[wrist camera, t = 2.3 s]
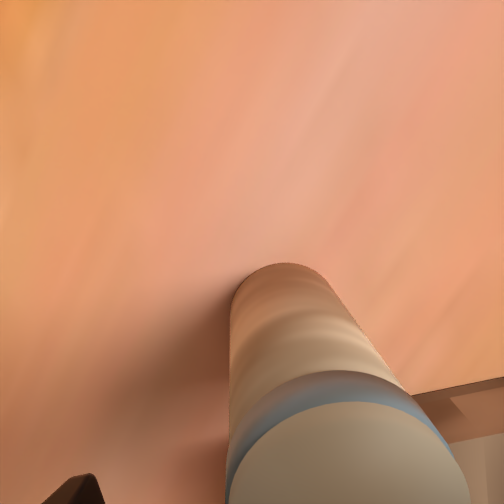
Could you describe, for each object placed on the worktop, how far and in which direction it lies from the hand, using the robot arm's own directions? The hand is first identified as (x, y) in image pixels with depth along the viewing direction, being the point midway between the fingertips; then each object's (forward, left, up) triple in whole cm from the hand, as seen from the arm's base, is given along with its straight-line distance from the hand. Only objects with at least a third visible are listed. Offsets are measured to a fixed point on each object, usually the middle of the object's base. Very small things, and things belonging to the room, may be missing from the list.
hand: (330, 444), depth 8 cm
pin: (0, 0, -6) cm, 6 cm away
